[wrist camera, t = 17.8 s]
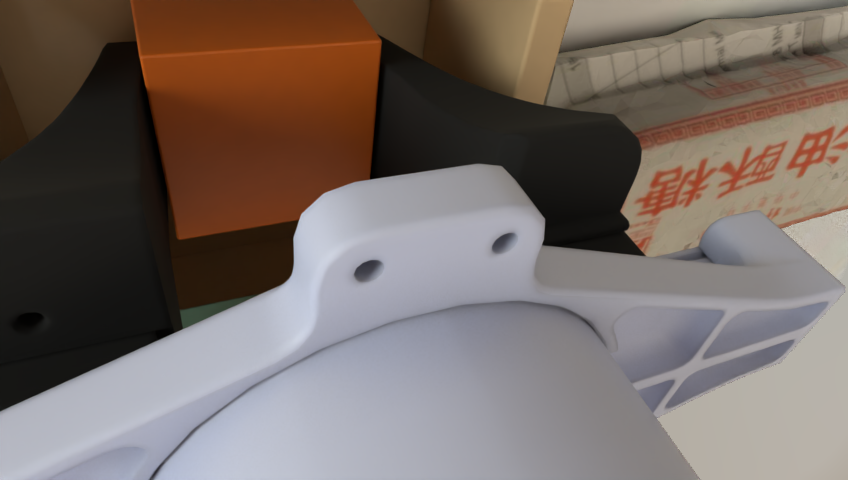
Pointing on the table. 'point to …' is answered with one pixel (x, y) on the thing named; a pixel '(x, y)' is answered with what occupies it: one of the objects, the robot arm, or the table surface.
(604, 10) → the table surface
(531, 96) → the drawer
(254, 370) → the robot arm
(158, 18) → the cube
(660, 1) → the table surface
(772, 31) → the packaged product
